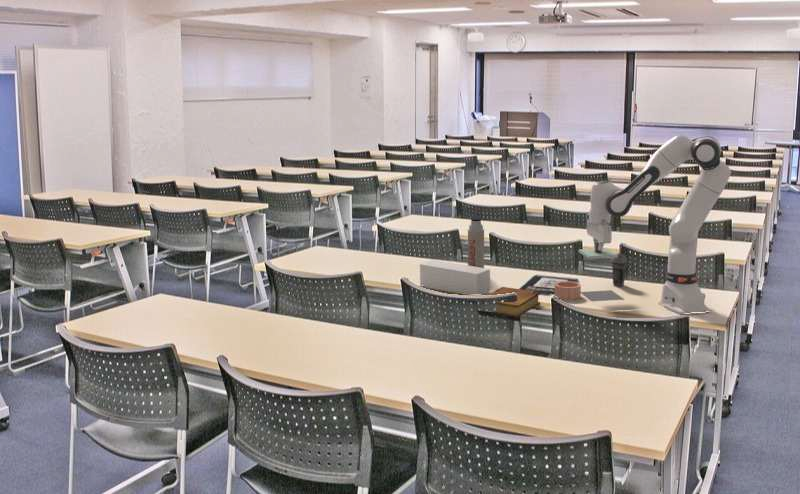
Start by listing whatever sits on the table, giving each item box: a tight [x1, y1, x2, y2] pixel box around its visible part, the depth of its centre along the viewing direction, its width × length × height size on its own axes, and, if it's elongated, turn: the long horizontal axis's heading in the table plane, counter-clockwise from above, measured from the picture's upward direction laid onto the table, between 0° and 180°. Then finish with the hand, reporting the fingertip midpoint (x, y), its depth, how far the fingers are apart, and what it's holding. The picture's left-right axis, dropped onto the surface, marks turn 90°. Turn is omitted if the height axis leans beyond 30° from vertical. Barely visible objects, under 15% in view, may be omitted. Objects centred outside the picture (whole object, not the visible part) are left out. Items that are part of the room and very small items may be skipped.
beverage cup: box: [611, 244, 629, 287], centre depth 377 cm, size 7×7×20 cm
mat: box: [581, 290, 625, 302], centre depth 362 cm, size 15×15×1 cm
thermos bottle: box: [467, 217, 485, 268], centre depth 403 cm, size 8×8×28 cm
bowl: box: [553, 281, 582, 301], centre depth 362 cm, size 11×11×6 cm
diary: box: [487, 286, 541, 318], centre depth 349 cm, size 23×19×6 cm
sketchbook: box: [518, 274, 580, 297], centre depth 381 cm, size 22×30×2 cm
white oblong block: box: [419, 259, 491, 295], centre depth 379 cm, size 32×11×11 cm, turn 51°
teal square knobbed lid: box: [578, 243, 618, 260], centre depth 358 cm, size 13×13×5 cm
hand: (598, 249), depth 358 cm, fingers closed on teal square knobbed lid, 3 cm apart
